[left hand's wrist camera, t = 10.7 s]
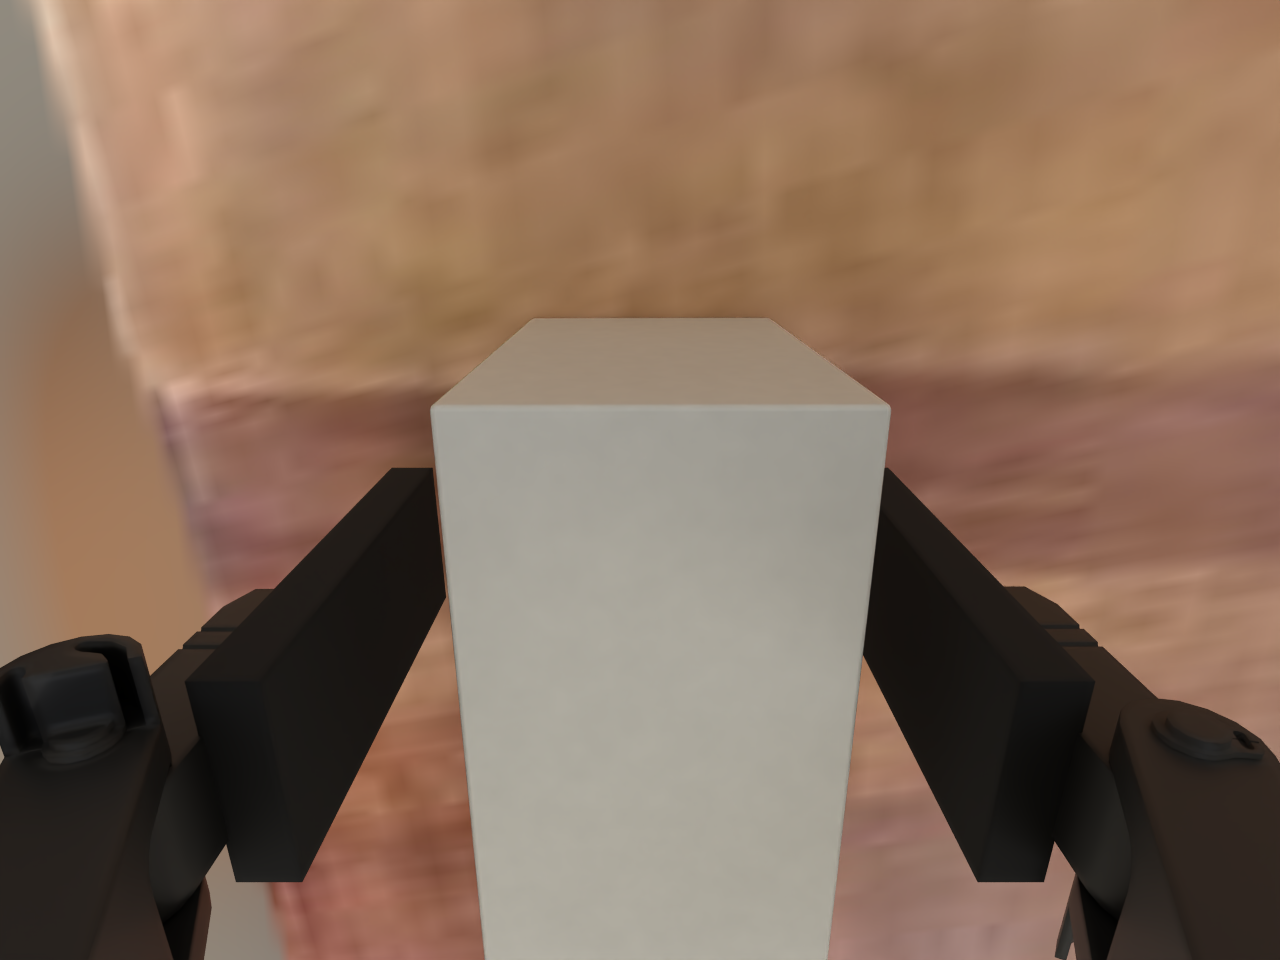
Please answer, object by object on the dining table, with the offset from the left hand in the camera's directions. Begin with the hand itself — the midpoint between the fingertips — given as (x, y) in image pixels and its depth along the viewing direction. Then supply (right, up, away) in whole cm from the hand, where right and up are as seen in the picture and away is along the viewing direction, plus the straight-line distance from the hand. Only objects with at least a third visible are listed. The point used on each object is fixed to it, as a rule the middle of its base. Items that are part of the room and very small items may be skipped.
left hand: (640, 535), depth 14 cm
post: (0, -32, +14) cm, 35 cm away
